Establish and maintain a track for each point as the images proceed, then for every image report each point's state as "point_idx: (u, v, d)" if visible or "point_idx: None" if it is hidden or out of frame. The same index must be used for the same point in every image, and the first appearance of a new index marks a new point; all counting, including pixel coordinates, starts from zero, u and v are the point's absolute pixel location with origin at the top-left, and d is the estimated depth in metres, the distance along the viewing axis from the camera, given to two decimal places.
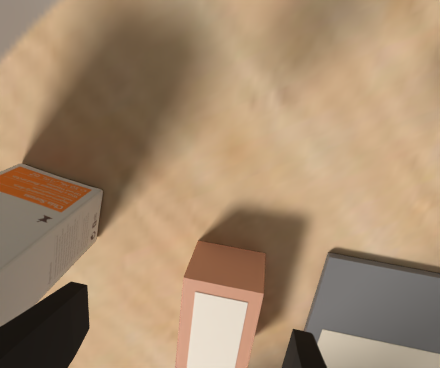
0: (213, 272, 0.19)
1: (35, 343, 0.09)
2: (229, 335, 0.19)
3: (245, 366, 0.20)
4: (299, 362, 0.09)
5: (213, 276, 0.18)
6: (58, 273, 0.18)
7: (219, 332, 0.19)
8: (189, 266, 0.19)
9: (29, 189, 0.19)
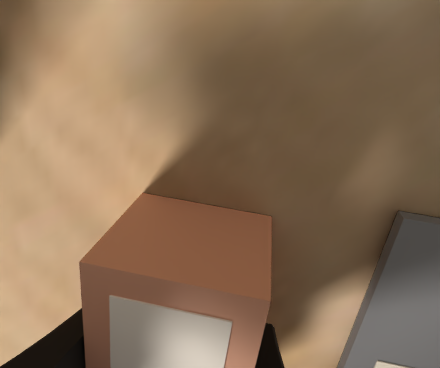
0: (155, 251, 0.08)
1: (79, 353, 0.09)
2: None
3: None
4: None
5: (152, 260, 0.08)
6: None
7: None
8: (104, 238, 0.08)
9: None
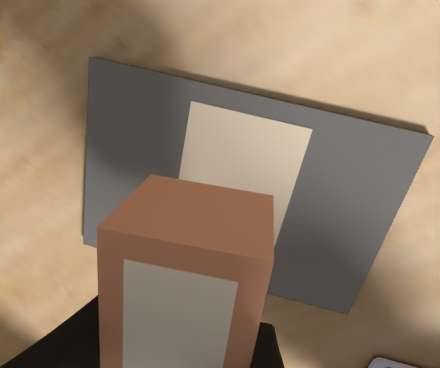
0: (165, 221, 0.09)
1: (79, 353, 0.09)
2: (201, 354, 0.09)
3: None
4: (253, 352, 0.09)
5: (163, 227, 0.09)
6: None
7: (180, 348, 0.09)
8: (118, 210, 0.09)
9: None
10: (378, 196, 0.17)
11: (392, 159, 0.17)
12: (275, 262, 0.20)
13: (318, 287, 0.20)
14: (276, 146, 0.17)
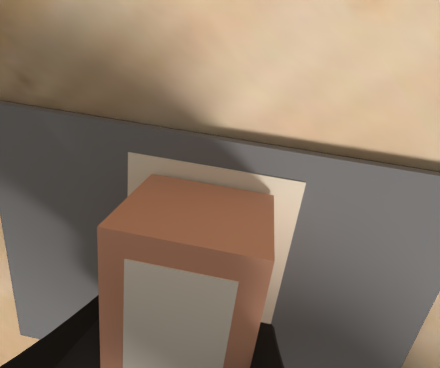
0: (166, 220, 0.09)
1: (79, 353, 0.09)
2: (201, 353, 0.09)
3: None
4: None
5: (164, 227, 0.09)
6: None
7: (180, 348, 0.09)
8: (118, 209, 0.09)
9: None
10: (410, 270, 0.12)
11: (429, 219, 0.11)
12: None
13: None
14: None
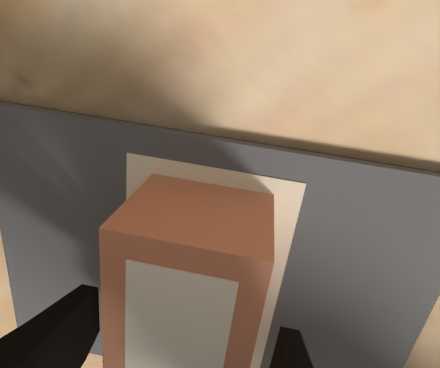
0: (166, 221, 0.09)
1: (49, 346, 0.09)
2: (202, 352, 0.09)
3: None
4: (284, 359, 0.09)
5: (165, 228, 0.09)
6: None
7: (181, 346, 0.09)
8: (119, 210, 0.09)
9: None
10: (411, 271, 0.12)
11: (430, 220, 0.11)
12: (270, 356, 0.15)
13: None
14: None
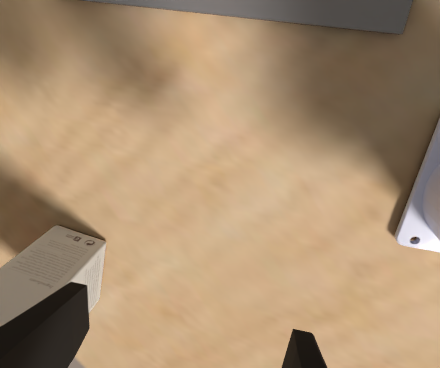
0: None
1: (35, 343, 0.09)
2: None
3: None
4: (299, 362, 0.09)
5: None
6: (59, 277, 0.19)
7: None
8: None
9: None
10: None
11: None
12: None
13: None
14: None
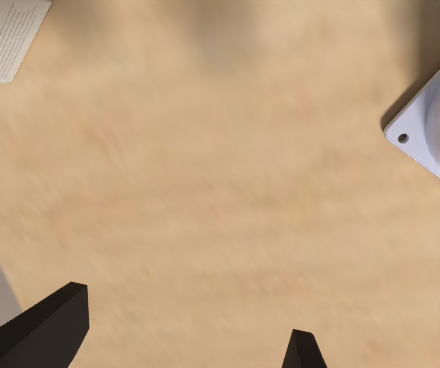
0: None
1: (35, 343, 0.09)
2: None
3: None
4: (299, 362, 0.09)
5: None
6: None
7: None
8: None
9: None
10: None
11: None
12: None
13: None
14: None
